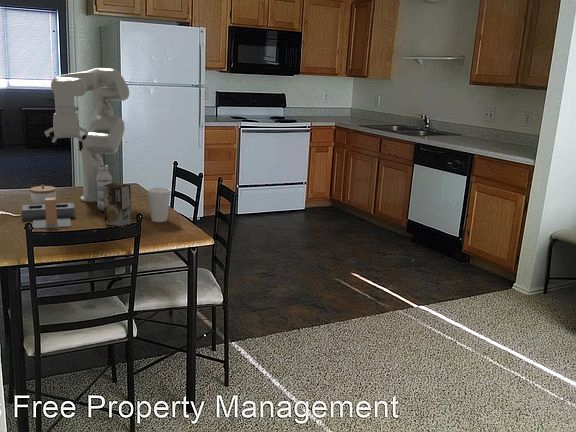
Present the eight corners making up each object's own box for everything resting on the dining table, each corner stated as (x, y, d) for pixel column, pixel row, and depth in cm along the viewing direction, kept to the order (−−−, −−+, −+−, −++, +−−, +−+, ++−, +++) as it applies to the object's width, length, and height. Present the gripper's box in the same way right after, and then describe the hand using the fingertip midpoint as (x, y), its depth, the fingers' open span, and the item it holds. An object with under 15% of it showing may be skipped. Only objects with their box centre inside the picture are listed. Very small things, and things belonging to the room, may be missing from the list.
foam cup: (151, 216, 246) (150, 187, 243) (172, 217, 246) (172, 188, 243) (145, 222, 237) (144, 191, 234) (167, 223, 237) (167, 193, 233)
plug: (57, 221, 230) (55, 197, 228) (57, 224, 227) (55, 199, 224) (46, 222, 229) (44, 197, 226) (46, 224, 225) (44, 200, 223)
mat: (70, 219, 236) (69, 218, 236) (71, 226, 226) (71, 225, 225) (33, 220, 231) (33, 220, 231) (32, 229, 220) (32, 228, 220)
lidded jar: (31, 208, 249) (29, 187, 246) (30, 203, 258) (29, 182, 256) (57, 207, 253) (56, 186, 251) (56, 201, 263) (55, 182, 260)
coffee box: (132, 223, 235) (131, 184, 231) (122, 227, 229) (121, 187, 225) (113, 220, 238) (112, 182, 234) (103, 224, 232) (102, 185, 228)
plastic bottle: (116, 210, 253) (115, 165, 248) (105, 213, 247) (104, 167, 242) (105, 208, 256) (103, 164, 251) (94, 211, 250) (92, 166, 245)
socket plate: (73, 211, 247) (73, 202, 246) (74, 217, 239) (74, 208, 238) (23, 214, 240) (22, 205, 239) (22, 219, 232) (21, 210, 231)
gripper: (86, 108, 242) (89, 148, 247) (42, 109, 236) (46, 150, 241) (87, 111, 236) (90, 152, 241) (42, 111, 229) (46, 153, 234)
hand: (68, 151), depth 241 cm, fingers open, 9 cm apart
